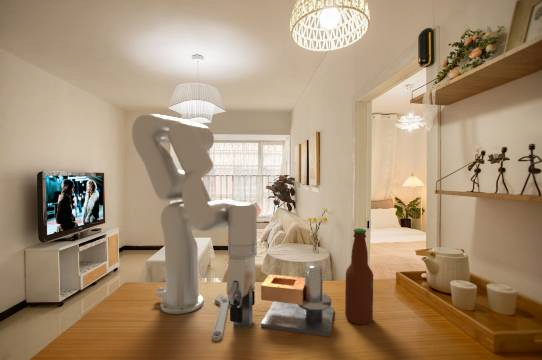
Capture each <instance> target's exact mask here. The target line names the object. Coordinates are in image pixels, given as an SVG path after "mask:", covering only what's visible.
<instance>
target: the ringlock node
mask: <svg viewBox="0 0 542 360" xmlns="http://www.w3.org/2000/svg"><path fill="white" fill-rule="evenodd" d="M323 269H324V266H323V265H321V264H318V263H307V264H304V277H301V276H290V275H278V274H268V276H266V278H265V280H264V281H263V282H262V283H261V285H260V300H261V301H268V302H272V303H271V305H270V307H269V309H268V310H267V312H266V313H265V316H264V318H263V319H262V321H261V322H260V328H265V329H271V328H272V329H271V330H279V331H285V332H293V333H301V334H306V335H313V336H320V337H327V338H331V337H332V335H331V334H332V330H333V329H332V327H333V319H334V310H335V309H334V308H335V307H334V306H332V301H333V299H332V298H331V296H330V295H328V294H326V293H323V291H324V290H323V289H324V288H323V287H324V286H323V285H324V270H323Z"/></svg>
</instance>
